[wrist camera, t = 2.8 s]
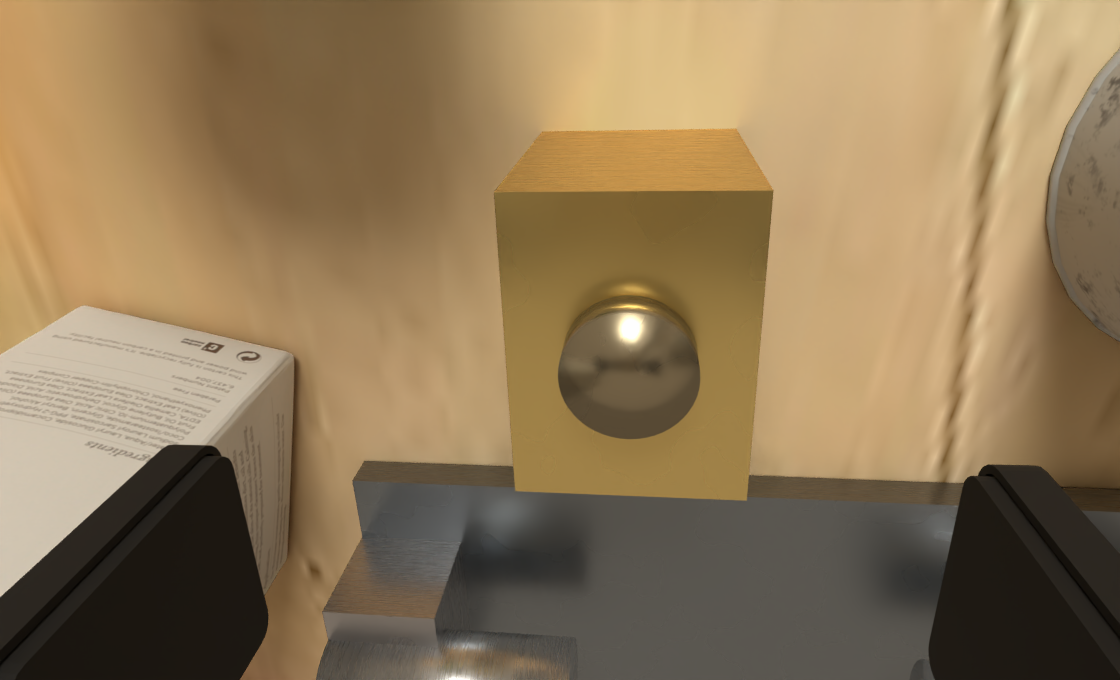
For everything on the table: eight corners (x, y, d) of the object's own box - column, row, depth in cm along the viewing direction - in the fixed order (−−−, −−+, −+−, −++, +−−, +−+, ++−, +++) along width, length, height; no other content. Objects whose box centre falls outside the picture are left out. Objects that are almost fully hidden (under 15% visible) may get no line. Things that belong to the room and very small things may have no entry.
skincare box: (87, 295, 21) (-1043, 904, 7) (315, 349, 21) (-369, 1077, 7) (106, 525, 25) (-615, 1229, 11) (300, 572, 25) (-169, 1345, 11)
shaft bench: (1166, 491, 20) (1337, 657, 15) (1079, 726, 24) (1192, 922, 19) (364, 461, 22) (281, 594, 17) (401, 677, 26) (342, 838, 21)
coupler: (542, 131, 18) (484, 204, 12) (735, 128, 17) (781, 203, 11) (551, 358, 20) (508, 516, 14) (721, 361, 20) (751, 527, 14)
